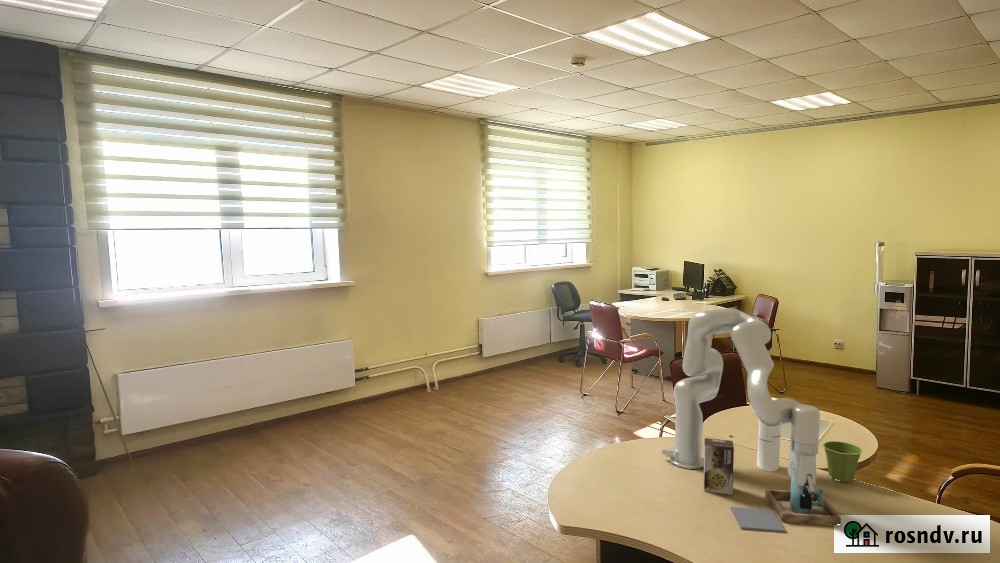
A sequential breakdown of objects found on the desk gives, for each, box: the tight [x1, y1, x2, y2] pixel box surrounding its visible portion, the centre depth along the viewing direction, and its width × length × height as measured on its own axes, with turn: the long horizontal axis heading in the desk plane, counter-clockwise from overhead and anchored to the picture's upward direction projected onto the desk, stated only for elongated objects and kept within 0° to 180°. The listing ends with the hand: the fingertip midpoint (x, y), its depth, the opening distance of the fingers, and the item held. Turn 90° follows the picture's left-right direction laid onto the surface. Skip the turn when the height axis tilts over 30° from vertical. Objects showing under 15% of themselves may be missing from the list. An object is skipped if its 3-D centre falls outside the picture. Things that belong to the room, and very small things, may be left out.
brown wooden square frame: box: [764, 488, 842, 526], centre depth 172 cm, size 16×16×2 cm
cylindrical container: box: [756, 396, 782, 471], centre depth 202 cm, size 7×7×25 cm
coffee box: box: [702, 437, 735, 496], centre depth 185 cm, size 9×6×16 cm
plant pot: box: [822, 440, 864, 483], centre depth 194 cm, size 12×12×11 cm
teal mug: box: [789, 474, 825, 514], centre depth 171 cm, size 9×6×11 cm, turn 81°
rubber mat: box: [730, 506, 786, 533], centre depth 166 cm, size 12×12×1 cm
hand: (801, 502), depth 172 cm, fingers closed on teal mug, 6 cm apart
